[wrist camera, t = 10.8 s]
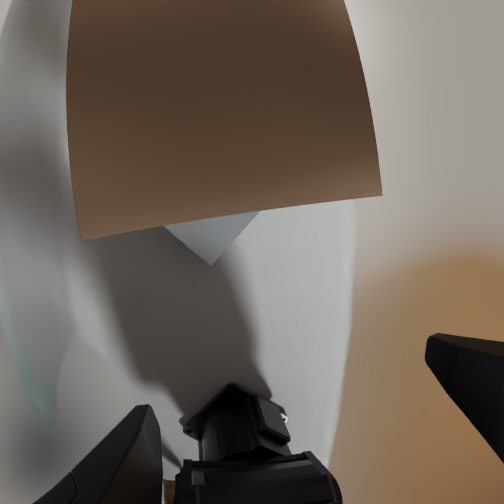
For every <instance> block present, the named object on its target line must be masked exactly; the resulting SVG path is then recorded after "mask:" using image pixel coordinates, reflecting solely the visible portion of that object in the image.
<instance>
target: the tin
mask: <svg viewBox="0 0 504 504" xmlns="http://www.w3.org/2000/svg"><path fill="white" fill-rule="evenodd" d="M163 482H164V501H165V504H173V500H174V496H175V481H171V480H165V479H164V480H163Z"/></svg>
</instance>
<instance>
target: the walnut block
mask: <svg viewBox="0 0 504 504" xmlns="http://www.w3.org/2000/svg"><path fill="white" fill-rule="evenodd" d="M66 106H67V132H68V147H69V159H70V169H71V178H72V187H73V194H74V201H75V208H76V214H77V220H78V226H79V232H80V237H81V241H86V240H91V239H96V238H101V237H106V236H111V235H117V234H122V233H127V232H133V231H138V230H144V229H149V228H155V227H161V226H167V225H172V224H178V223H184V222H190V221H196V220H203V219H209V218H215V217H222V216H228V215H235V214H241V213H248V212H255V211H262V210H269V209H276V208H284V207H291V206H299V205H306V204H314V203H322V202H330V201H339V200H347V199H356V198H365V197H374V196H382V187H381V177H380V169H379V161H378V152H377V145H376V138H375V132H374V125H373V119H372V114H371V108H370V102H369V97H368V92H367V87H366V82H365V78H364V73H363V69H362V64H361V60H360V56H359V52H358V48H357V44H356V40H355V36H354V33H353V29H352V26H351V22H350V19H349V15H348V12H347V9H346V6H345V2H344V0H73V2H72V9H71V17H70V27H69V38H68V52H67V78H66Z"/></svg>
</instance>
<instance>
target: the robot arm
mask: <svg viewBox="0 0 504 504" xmlns="http://www.w3.org/2000/svg"><path fill="white" fill-rule="evenodd" d="M425 362H426V364H427V365H428V367H429V368H430V369H431V371H432V373H433V374H434V375H435V377H436V378H437V380H438V381H439V383H440V384H441V386H442V387H443V389H444V390H445V391H446V393H447V394H448V395H449V397H450V398H451V399H452V400H453V401H454V403H455V404H456V405H457V406H458V407H459V409H460V410H461V411H462V412H463V413H464V414H465V416H466V417H467V418H468V419H469V420H470V422H471V423H472V424H473V425H474V427H475V428H476V429H477V430H478V432H479V433H480V434H481V435H482V437H483V438H484V439H485V440H486V442H487V443H488V444H489V445H490V447H491V448H492V449H493V450H494V452H495V453H496V454H497V455H498V457H499V458H500V459H501V461H502V462H503V463H504V342H500V341H492V340H484V339H477V338H470V337H462V336H455V335H449V334H442V333H436V334H434V335H431V336H429V337H428V339H427V343H426V351H425ZM230 389H235V390H234V391H229V390H230ZM287 421H288V417H287V415H286V414H285V413H283V412H282V411H280V410H279V408H278V407H277V406H276V405H274V404H272V403H270V402H269V401H267V400H265V399H264V398H262V397H260V396H259V395H257V394H253V395H252V394H251V393H249V392H248V391H246V390H244V389H243V388H241V387H239V386H238V385H236V384H234V383H231V384H228V385H227V386H226V387H225V388H224V389H222V390H221V391H220V392H219V393H218V394H217V395H216V396H215V397H214V398H213V399H212V400H211V401H210V402H209V403H208V404H207V405H206V406H205V407H204V408H203V409H201V410H200V411H199V412H198V413H197V414H196V415H195V416H194V417H193V418H192V419H191V420H190V421H188V422H187V423H186V424H185V425H184V426H183V432H184V433H185V434H186V435H188V436H190V437H192V438H194V439H196V440H197V441H198V446H199V461H192V459H184V461H183V467H181V468H180V473H179V474H177V475H176V476H175V496H174V500H173V504H342V495H341V491H340V488H339V485H338V483H337V481H336V479H335V478H334V477H333V475H332V474H331V473H330V472H329V471H328V470H327V469H326V468H325V467H324V466H323V464H322V463H321V462H320V461H319V460H318V459H317V458H316V457H315V456H314V455H313V453H312V452H311V451H306V452H302V453H301V454H294V455H292V454H291V452H290V449H289V447H288V444H287V443H288V442H290V435H289V432H288V430H287V428H286V425H285V423H286V422H287ZM187 429H191V430H187ZM162 482H163V467H162V452H161V435H160V427H159V424H158V421H157V419H156V416H155V414H154V411H153V409H152V407H151V406H150V405H149V404H146V405H137V406H135V407H134V408H133V409H132V410H131V411H130V412H129V413H128V415H127V416H126V417H125V418H124V419H123V420H122V421H121V422H120V423H119V424H118V425H117V426H116V427H115V428H114V429H113V430H112V431H111V432H110V433H109V434H108V435H107V436H106V437H105V438H104V439H103V440H102V441H101V442H100V443H99V444H98V445H97V446H96V447H95V448H94V449H93V450H91V452H89V453H88V455H86V456H85V457H84V458H83V459H82V461H80V462H79V463H78V464H77V465H76V466H75V467H74V468H73V469H72V470H71V472H69V473H68V474H67V475H66V476H65V477H64V478H63V479H62V480H61V481H59V483H57V484H56V485H55V486H54V487H53V488H52V489H51V490H49V491H48V492H47V493H46V494H45V495H43V496H42V497H41V498H39V499H38V500H37V501H35V502H34V503H33V504H162V502H161V501H162Z"/></svg>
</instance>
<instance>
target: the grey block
mask: <svg viewBox="0 0 504 504" xmlns="http://www.w3.org/2000/svg"><path fill="white" fill-rule="evenodd" d="M259 212H260V211H255V212H248V213H241V214H235V215H228V216H222V217H215V218H209V219H203V220H196V221H190V222H184V223H178V224H172V225H167V226H164V227H165V228H166V229H167V230H168V231H170V232H171V233H172V234H173V235H174V236H175V237H177V238H178V239H179V240H180V241H181V242H183V243H184V244H185V245H186V246H187V247H188V248H190V249H191V250H192V251H193V252H194V253H196V254H197V255H198V256H199V257H200V258H201V259H203V260H204V261H205V262H206V263H207V264H209V265H210V266H212V265H213V264H214V263H215V261H216V260H217V259H218V258H219V257H220V256H221V255H222V254H223V252H224V251H225V250H226V249H227V248H228V247H229V246H230V244H231V243H232V242H233V241H234V240H235V239H236V238H237V236H238V235H239V234H240V233H241V232H242V231H243V230H244V229H245V227H246V226H247V225H248V224H249V223H250V222H251V221H252V220H253V218H254V217H255V216H256V215H257V214H258V213H259Z"/></svg>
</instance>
